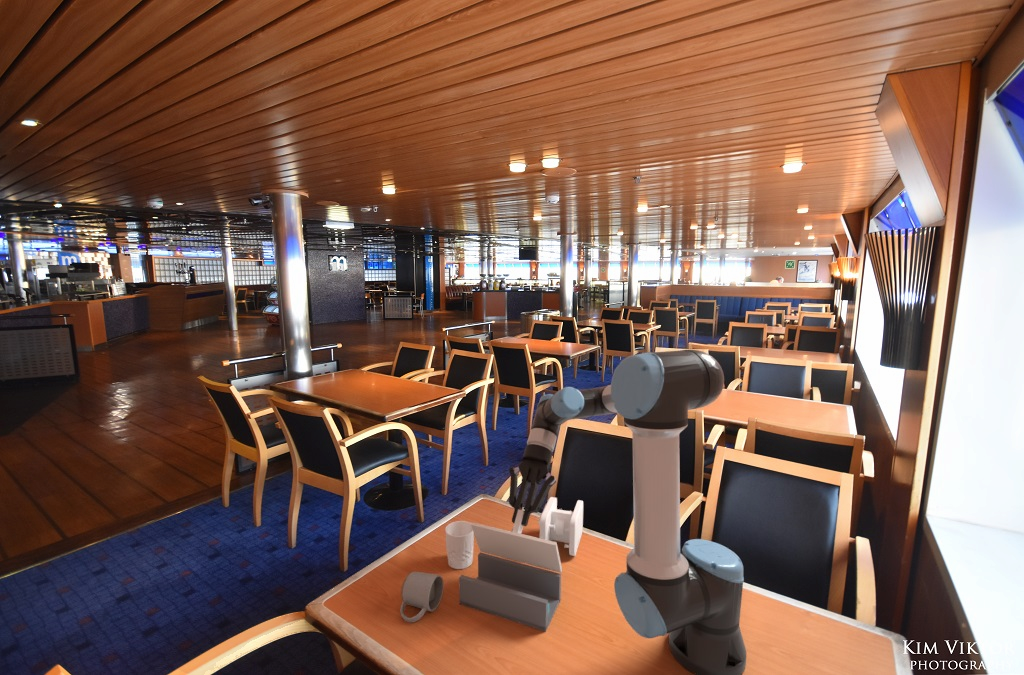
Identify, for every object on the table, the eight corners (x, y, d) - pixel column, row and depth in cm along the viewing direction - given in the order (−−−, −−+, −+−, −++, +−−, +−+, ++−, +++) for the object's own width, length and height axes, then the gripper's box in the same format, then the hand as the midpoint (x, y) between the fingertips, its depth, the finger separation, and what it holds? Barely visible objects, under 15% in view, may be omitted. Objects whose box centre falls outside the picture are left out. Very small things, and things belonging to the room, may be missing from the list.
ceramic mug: (415, 590, 119) (414, 562, 118) (444, 597, 117) (443, 568, 115) (391, 620, 109) (390, 590, 108) (423, 628, 107) (421, 598, 106)
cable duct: (560, 600, 116) (561, 574, 115) (545, 631, 106) (546, 603, 105) (480, 576, 124) (480, 552, 123) (459, 604, 114) (459, 577, 113)
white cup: (470, 572, 126) (469, 537, 125) (442, 569, 127) (441, 534, 126) (477, 555, 134) (477, 522, 132) (450, 552, 135) (450, 519, 134)
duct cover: (561, 572, 115) (562, 569, 115) (555, 545, 109) (556, 542, 109) (480, 551, 123) (481, 548, 124) (470, 524, 117) (472, 522, 118)
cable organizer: (574, 563, 130) (575, 523, 128) (537, 556, 133) (537, 517, 132) (583, 534, 144) (584, 498, 143) (549, 528, 147) (549, 493, 146)
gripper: (565, 458, 129) (543, 548, 117) (521, 450, 134) (495, 536, 122) (559, 446, 123) (536, 540, 111) (513, 439, 128) (486, 527, 116)
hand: (515, 537), depth 116 cm, fingers closed
